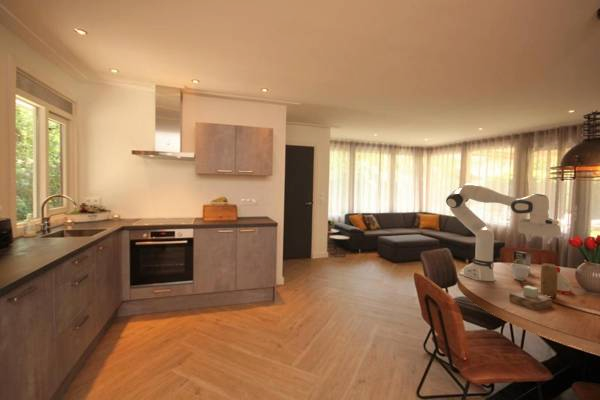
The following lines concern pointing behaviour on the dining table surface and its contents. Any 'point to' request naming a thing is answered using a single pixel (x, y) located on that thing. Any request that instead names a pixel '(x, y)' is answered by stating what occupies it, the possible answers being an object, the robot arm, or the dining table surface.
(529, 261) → the coffee box
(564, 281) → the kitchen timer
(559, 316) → the dining table surface
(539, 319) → the dining table surface
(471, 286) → the dining table surface
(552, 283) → the block
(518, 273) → the teacup
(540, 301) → the walnut base block
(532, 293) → the sage cube
